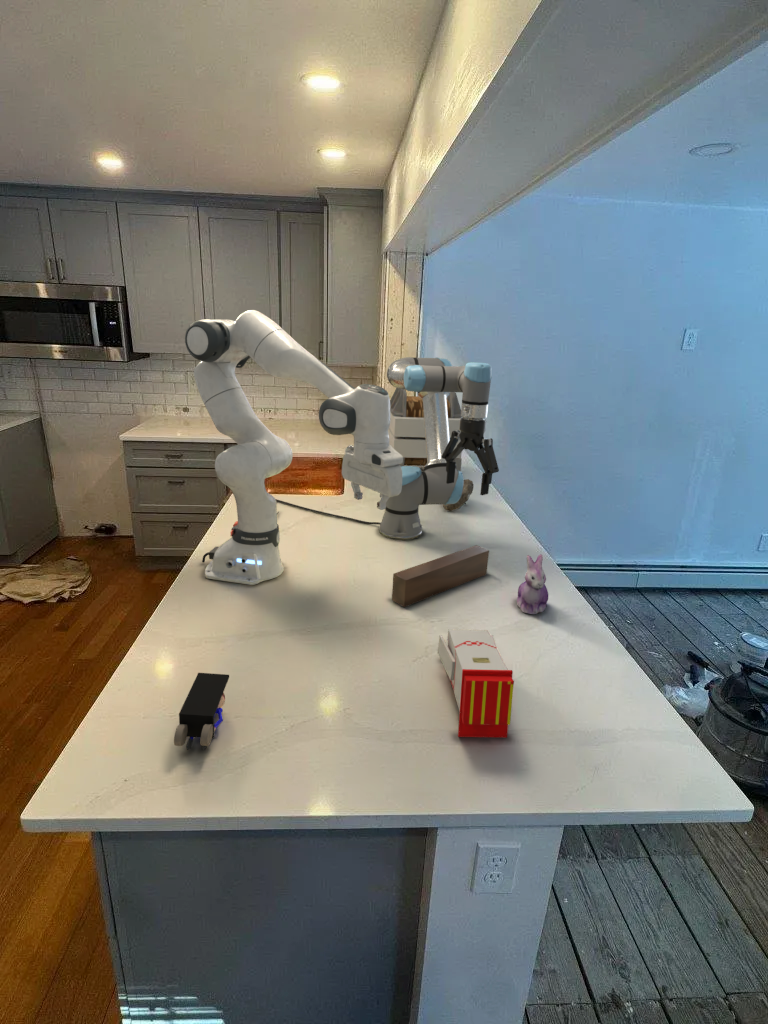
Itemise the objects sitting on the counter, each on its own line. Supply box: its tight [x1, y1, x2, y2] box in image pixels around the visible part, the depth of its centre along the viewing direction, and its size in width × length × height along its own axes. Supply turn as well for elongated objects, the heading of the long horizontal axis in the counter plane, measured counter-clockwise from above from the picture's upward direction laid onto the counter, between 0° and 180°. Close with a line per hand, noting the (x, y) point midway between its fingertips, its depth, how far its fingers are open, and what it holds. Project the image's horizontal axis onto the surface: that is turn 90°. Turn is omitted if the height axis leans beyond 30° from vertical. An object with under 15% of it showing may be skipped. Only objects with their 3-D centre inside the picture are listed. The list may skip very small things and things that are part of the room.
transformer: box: [388, 387, 463, 472], centre depth 268 cm, size 34×33×41 cm
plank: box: [391, 544, 490, 608], centre depth 162 cm, size 5×34×8 cm, turn 131°
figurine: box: [516, 553, 549, 615], centre depth 151 cm, size 9×10×15 cm
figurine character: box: [173, 672, 230, 751], centre depth 104 cm, size 7×8×15 cm
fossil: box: [442, 478, 475, 512], centre depth 232 cm, size 22×10×15 cm
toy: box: [437, 628, 515, 738], centre depth 117 cm, size 12×13×30 cm
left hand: (369, 503), depth 146 cm, fingers open, 8 cm apart
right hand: (466, 488), depth 171 cm, fingers open, 13 cm apart
